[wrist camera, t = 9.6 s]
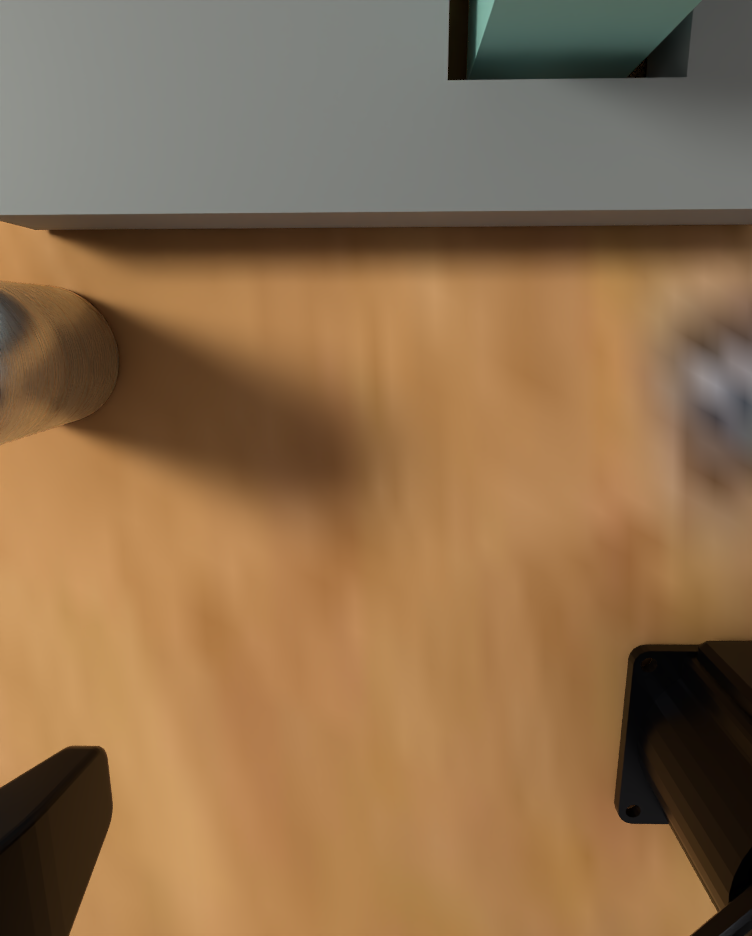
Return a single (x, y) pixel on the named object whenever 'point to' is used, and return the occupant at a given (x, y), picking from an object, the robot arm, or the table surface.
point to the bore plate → (354, 122)
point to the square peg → (566, 37)
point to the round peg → (51, 359)
